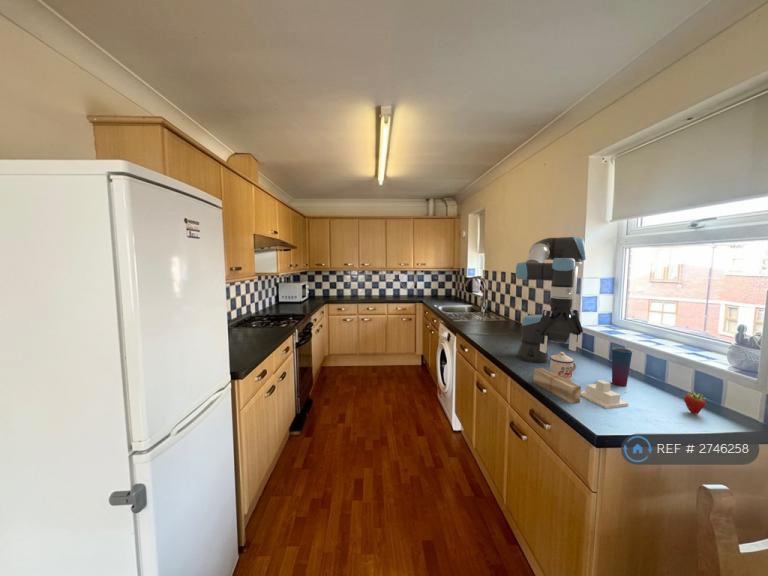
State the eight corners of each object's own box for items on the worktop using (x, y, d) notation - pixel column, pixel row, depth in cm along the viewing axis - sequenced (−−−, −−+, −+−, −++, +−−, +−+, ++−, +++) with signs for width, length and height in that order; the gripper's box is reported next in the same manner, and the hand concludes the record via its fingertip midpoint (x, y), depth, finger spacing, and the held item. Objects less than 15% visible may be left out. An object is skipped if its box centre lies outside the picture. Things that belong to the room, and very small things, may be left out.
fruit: (699, 418, 104) (702, 395, 103) (679, 411, 109) (681, 389, 108) (707, 415, 106) (709, 393, 105) (687, 408, 111) (689, 387, 110)
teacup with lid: (559, 382, 134) (560, 356, 132) (544, 374, 142) (546, 349, 141) (583, 380, 136) (584, 354, 135) (567, 373, 145) (568, 348, 144)
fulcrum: (577, 394, 122) (579, 376, 121) (598, 392, 124) (600, 375, 123) (605, 408, 110) (607, 389, 110) (628, 405, 112) (629, 387, 112)
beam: (570, 403, 114) (571, 387, 113) (533, 382, 133) (534, 368, 133) (579, 402, 115) (581, 386, 114) (541, 381, 134) (542, 367, 134)
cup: (632, 388, 128) (636, 352, 127) (614, 386, 130) (617, 351, 128) (623, 381, 135) (626, 348, 134) (606, 380, 136) (608, 347, 135)
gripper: (540, 299, 114) (537, 355, 116) (596, 298, 120) (592, 352, 122) (526, 296, 122) (524, 349, 123) (580, 296, 127) (576, 346, 129)
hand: (557, 351), depth 123 cm, fingers open, 13 cm apart
